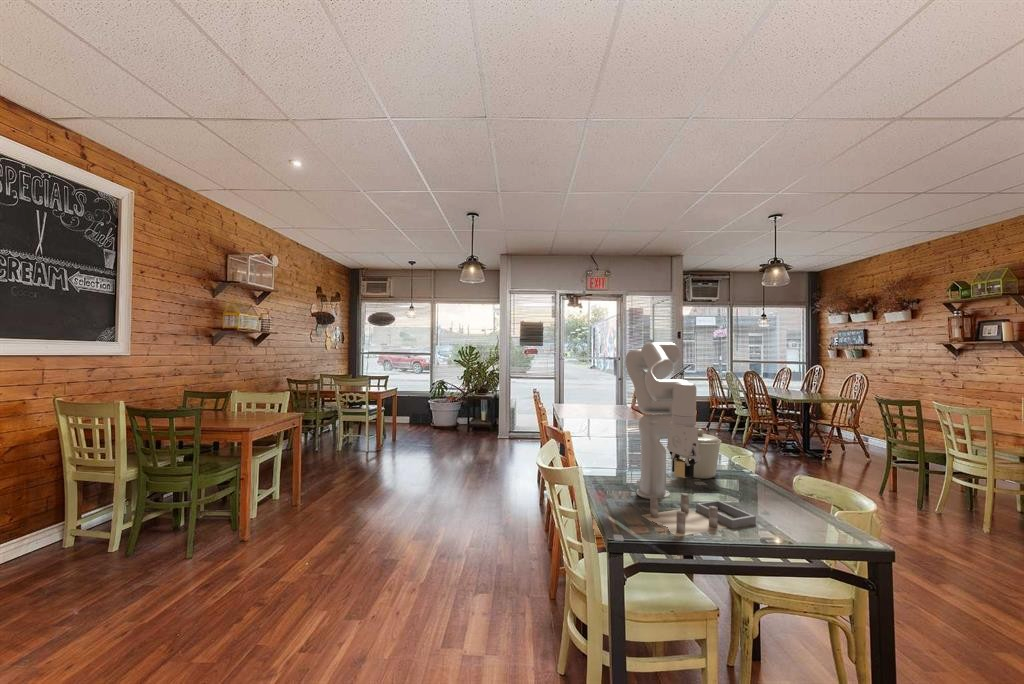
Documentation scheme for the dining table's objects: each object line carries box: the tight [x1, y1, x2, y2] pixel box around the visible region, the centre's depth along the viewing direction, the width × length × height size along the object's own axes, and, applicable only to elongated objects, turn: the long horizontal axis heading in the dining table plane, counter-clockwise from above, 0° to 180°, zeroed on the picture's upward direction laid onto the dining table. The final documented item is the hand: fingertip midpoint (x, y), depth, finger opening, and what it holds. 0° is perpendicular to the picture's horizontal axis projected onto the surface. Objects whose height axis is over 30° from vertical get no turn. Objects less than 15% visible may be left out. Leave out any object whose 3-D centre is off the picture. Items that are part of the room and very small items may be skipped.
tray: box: [695, 499, 757, 529], centre depth 157 cm, size 16×10×4 cm, turn 21°
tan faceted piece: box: [673, 457, 690, 479], centre depth 154 cm, size 5×6×5 cm
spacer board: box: [640, 492, 729, 538], centre depth 153 cm, size 18×20×7 cm
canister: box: [680, 428, 722, 480], centre depth 208 cm, size 18×18×21 cm
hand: (682, 473), depth 154 cm, fingers closed on tan faceted piece, 5 cm apart
